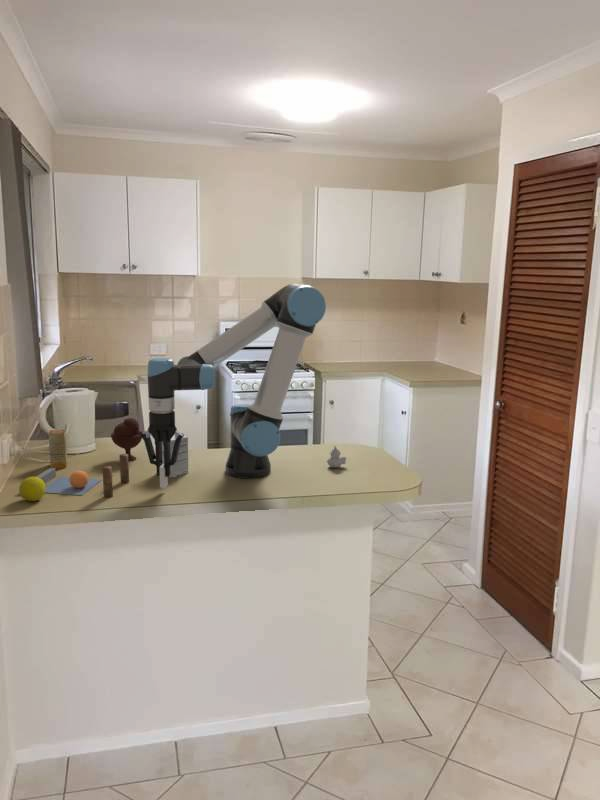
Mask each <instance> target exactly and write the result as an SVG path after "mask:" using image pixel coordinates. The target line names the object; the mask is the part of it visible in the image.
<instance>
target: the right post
mask: <svg viewBox="0 0 600 800" xmlns="http://www.w3.org/2000/svg"><path fill="white" fill-rule="evenodd" d="M129 466H130V465H129V462H128V454H126V453H121V454H119V475H120V484H123V485H125V484H126V483H127V484H129V483H130V472H129V471H130V467H129Z"/></svg>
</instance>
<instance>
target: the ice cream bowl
mask: <svg viewBox="0 0 600 800" xmlns="http://www.w3.org/2000/svg"><path fill="white" fill-rule="evenodd" d="M143 432H144V431H141V430H140V424H139V422H138V420H137V419H135V418H133V417H129V418H125V419H124V421H123V422H120V423H118V424H117V425H116V426H115V427H114V430H113V432H111V434H110V438H111V441H112V442H113V443H114V445H116V446H117V447H119V448H121V449H123V450H124V452H125V454H128V461H132V462H135V461H136V460H137V457H136V456H135V455H133V454H131V450H132V449H133V448H136V447H137V446H138V445H139V444H140V443H141V442H142V440H143V438H142V437H141V434H142V433H143ZM134 460H135V461H134Z"/></svg>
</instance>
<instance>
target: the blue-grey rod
mask: <svg viewBox="0 0 600 800" xmlns="http://www.w3.org/2000/svg"><path fill="white" fill-rule="evenodd" d="M56 471H57V470H56V468H55V469H52V468H51V467H50V468H48V469H46V470H44V471H43V472H41V473H39V474H37V476H35V477H38V478H40V479H42V480H43V482H44V483H45V484H47V482H49V481H50V480H52V479H53V478H55V477H57V473H56Z"/></svg>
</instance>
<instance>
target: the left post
mask: <svg viewBox="0 0 600 800" xmlns="http://www.w3.org/2000/svg"><path fill="white" fill-rule="evenodd" d="M112 469H113V468H112V466H111V465H105V466H102V485H103V498H104V499H110V498H112V497H113V496H114V492H113V491H114V487H113V471H112Z"/></svg>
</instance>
